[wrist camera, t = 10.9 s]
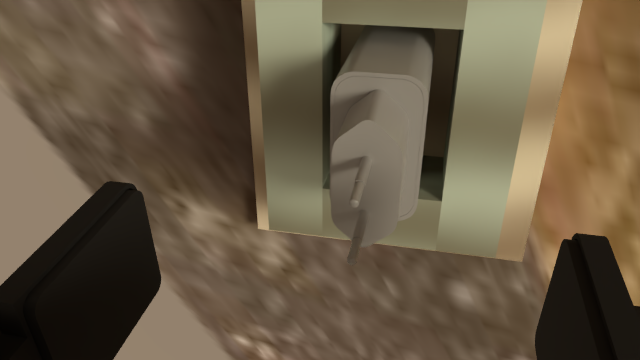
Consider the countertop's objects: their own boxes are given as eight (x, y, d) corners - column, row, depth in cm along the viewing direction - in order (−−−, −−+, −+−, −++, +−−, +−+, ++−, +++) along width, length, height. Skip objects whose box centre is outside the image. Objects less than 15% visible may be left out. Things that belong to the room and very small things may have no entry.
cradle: (238, -151, 22) (186, -156, 18) (611, -155, 19) (656, -161, 15) (263, 218, 31) (233, 274, 27) (519, 249, 28) (531, 317, 24)
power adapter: (437, 20, 22) (423, 146, 12) (424, 138, 25) (404, 320, 15) (363, 16, 23) (291, 134, 13) (358, 132, 26) (296, 304, 16)
